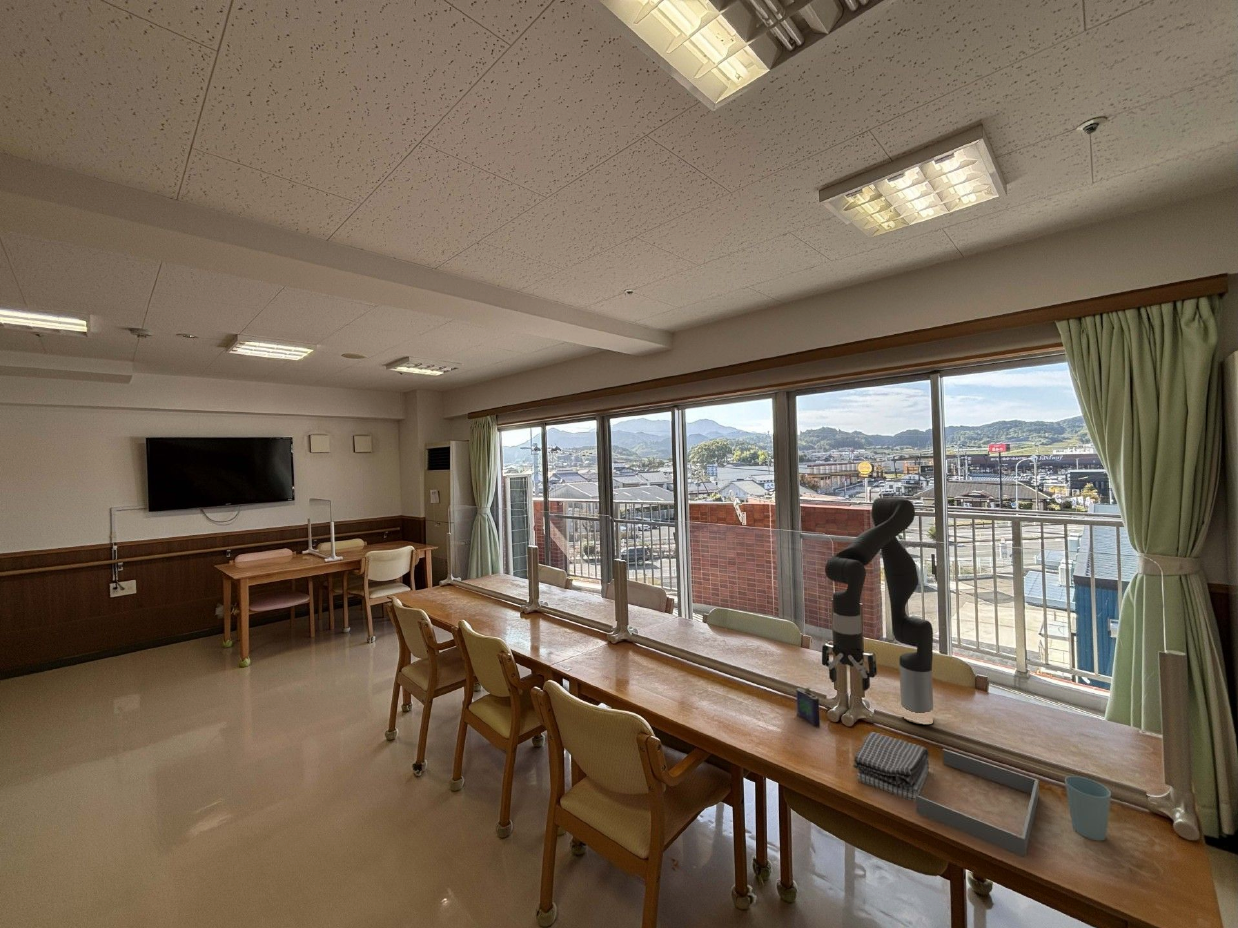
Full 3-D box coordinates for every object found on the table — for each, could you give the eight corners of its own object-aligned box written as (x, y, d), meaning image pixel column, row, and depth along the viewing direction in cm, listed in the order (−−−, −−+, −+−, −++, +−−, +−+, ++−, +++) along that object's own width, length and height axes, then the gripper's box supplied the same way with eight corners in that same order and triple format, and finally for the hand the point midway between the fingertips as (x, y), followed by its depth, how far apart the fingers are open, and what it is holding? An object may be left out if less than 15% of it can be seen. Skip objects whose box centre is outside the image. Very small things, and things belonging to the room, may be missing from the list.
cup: (1070, 814, 119) (1069, 771, 119) (1115, 833, 112) (1114, 787, 112) (1062, 829, 114) (1061, 784, 114) (1108, 849, 108) (1107, 802, 108)
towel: (931, 770, 137) (930, 742, 137) (915, 805, 124) (914, 774, 124) (871, 750, 147) (871, 724, 147) (851, 780, 134) (850, 751, 134)
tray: (943, 762, 140) (943, 748, 140) (1038, 795, 126) (1038, 779, 126) (916, 812, 121) (915, 795, 121) (1025, 857, 106) (1024, 839, 106)
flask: (795, 714, 169) (794, 683, 169) (801, 712, 170) (800, 681, 170) (815, 727, 161) (815, 694, 161) (822, 725, 162) (821, 692, 162)
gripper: (878, 630, 139) (880, 688, 139) (827, 620, 149) (828, 674, 149) (869, 637, 134) (871, 697, 134) (816, 627, 144) (818, 683, 144)
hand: (849, 685), depth 141 cm, fingers open, 8 cm apart
